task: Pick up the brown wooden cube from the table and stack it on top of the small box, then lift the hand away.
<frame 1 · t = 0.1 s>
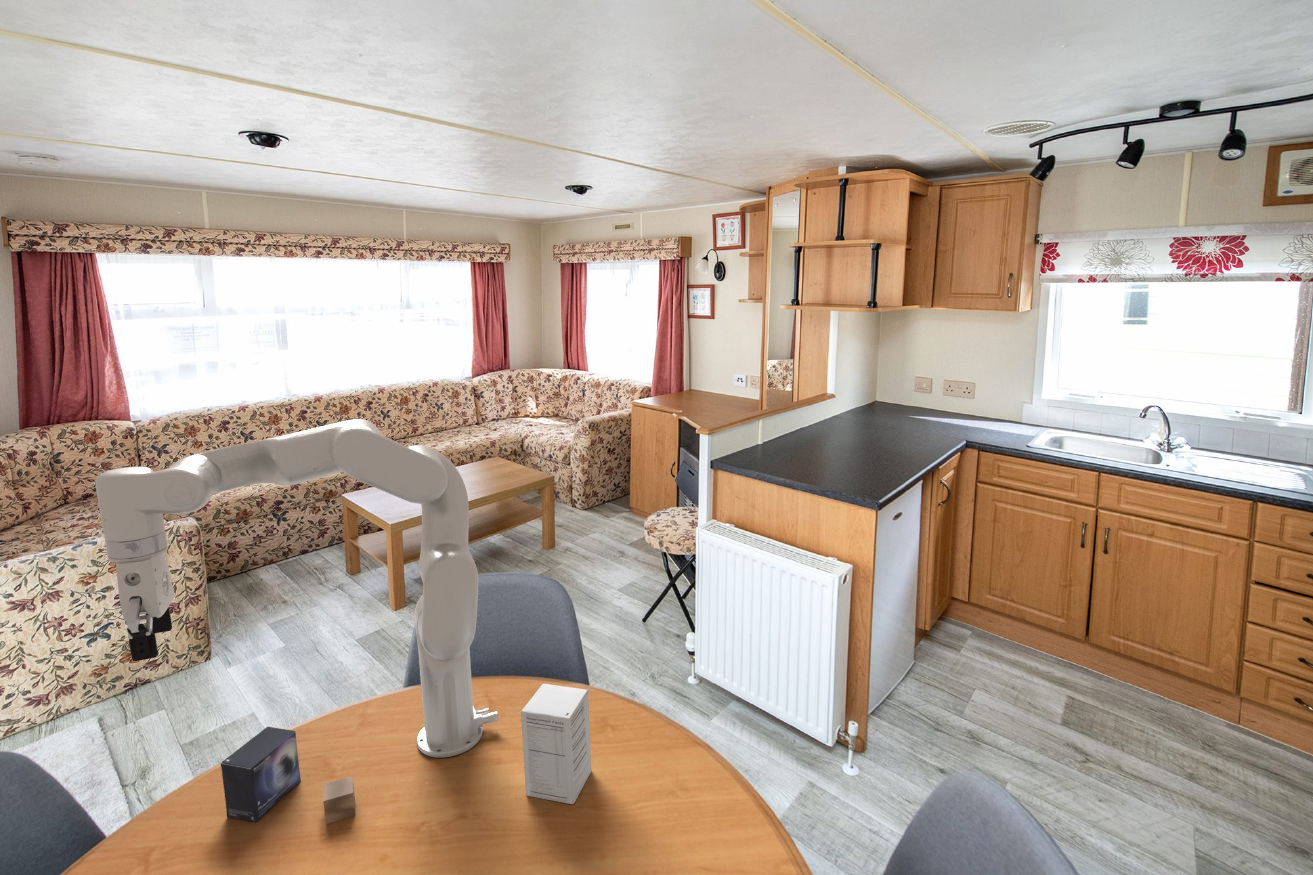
hand: (153, 644, 106), 31 cm above the table, tool pointing down, fingers open, 9 cm apart
supplement box: (559, 783, 118), on the table
small box: (266, 799, 115), on the table
brown wooden cube: (340, 811, 112), on the table
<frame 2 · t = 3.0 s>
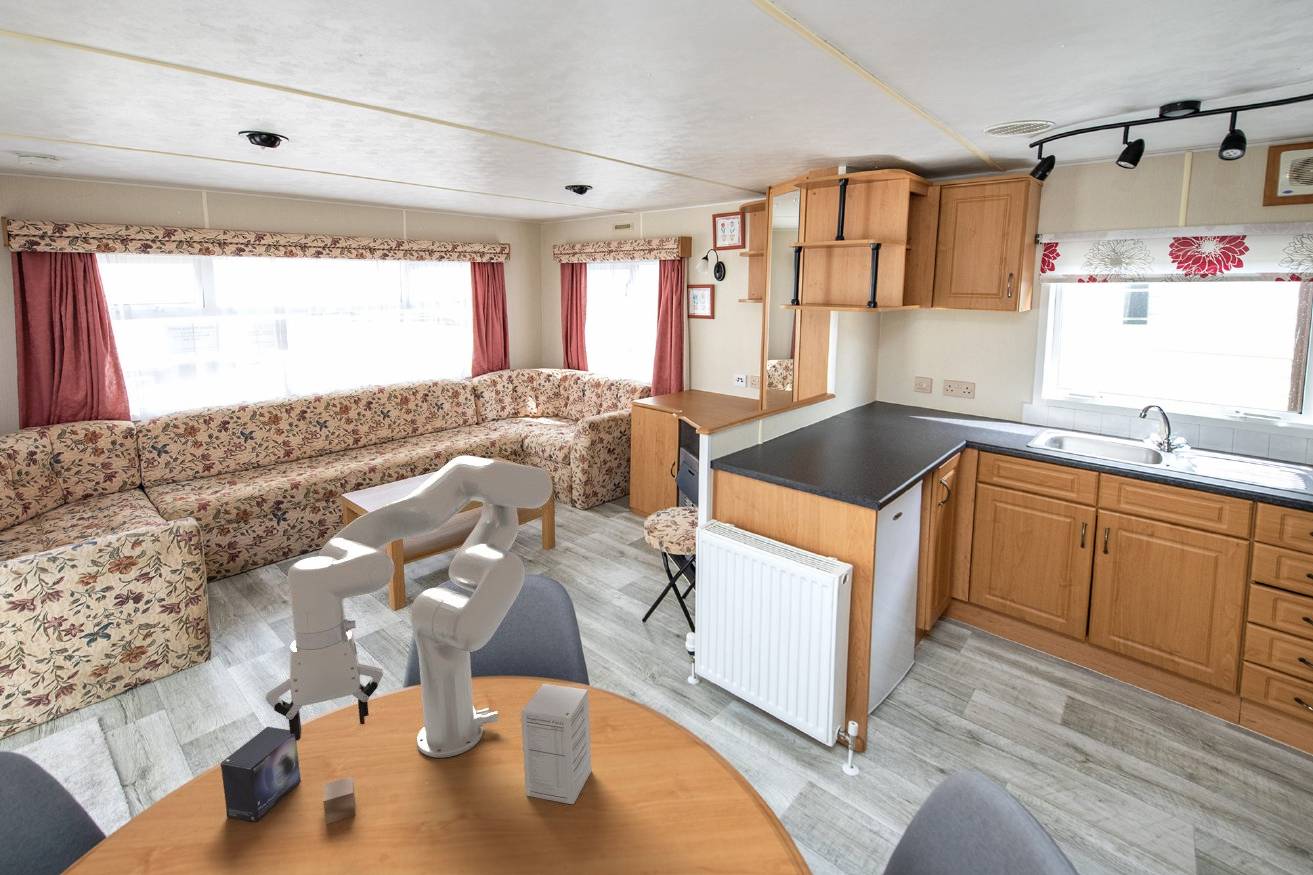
hand: (331, 727, 109), 16 cm above the table, tool pointing down, fingers open, 9 cm apart
nothing on the table moved.
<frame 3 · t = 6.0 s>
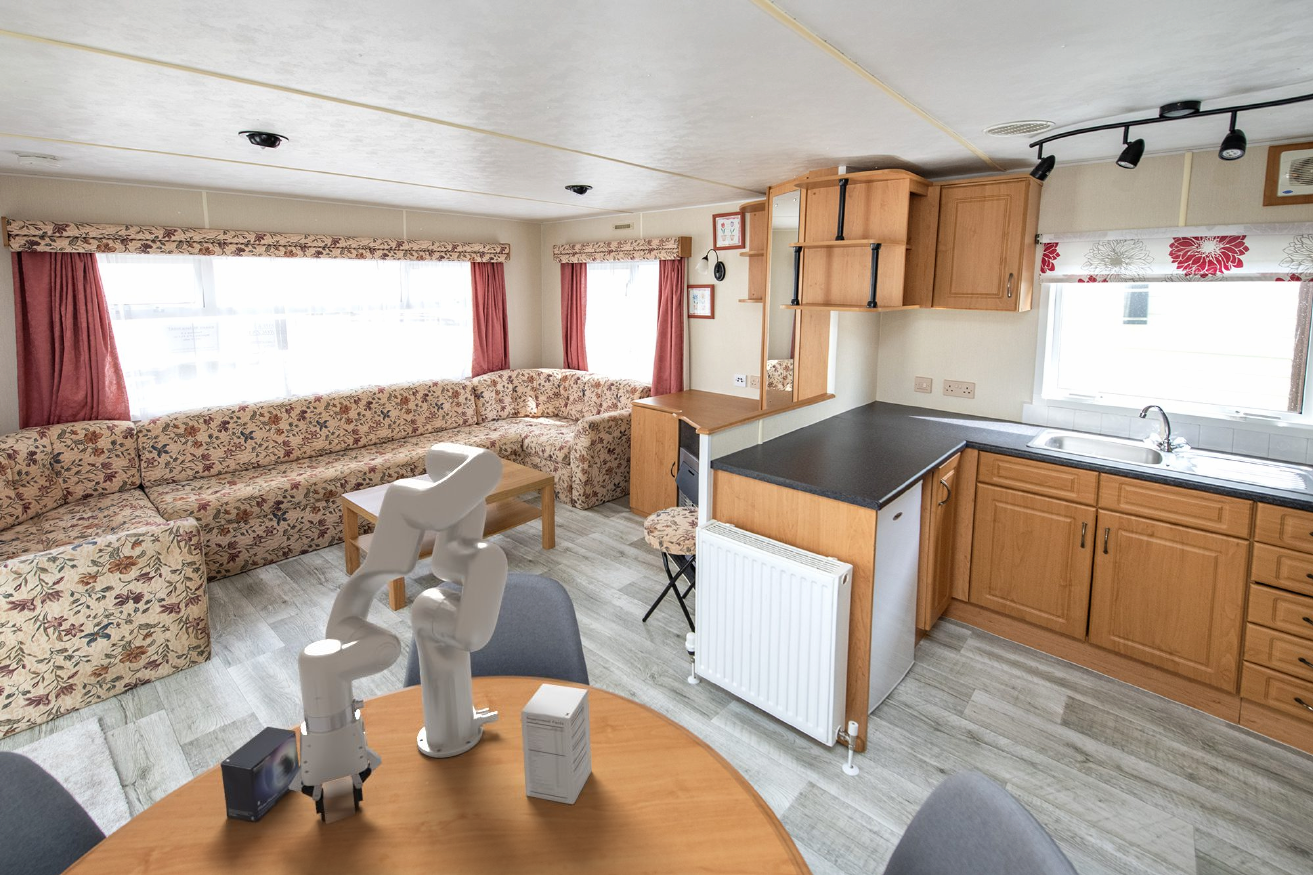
hand: (340, 808, 112), 0 cm above the table, tool pointing down, fingers closed on brown wooden cube, 4 cm apart
brown wooden cube: (340, 810, 112), on the table, touching gripper
everything else where it was.
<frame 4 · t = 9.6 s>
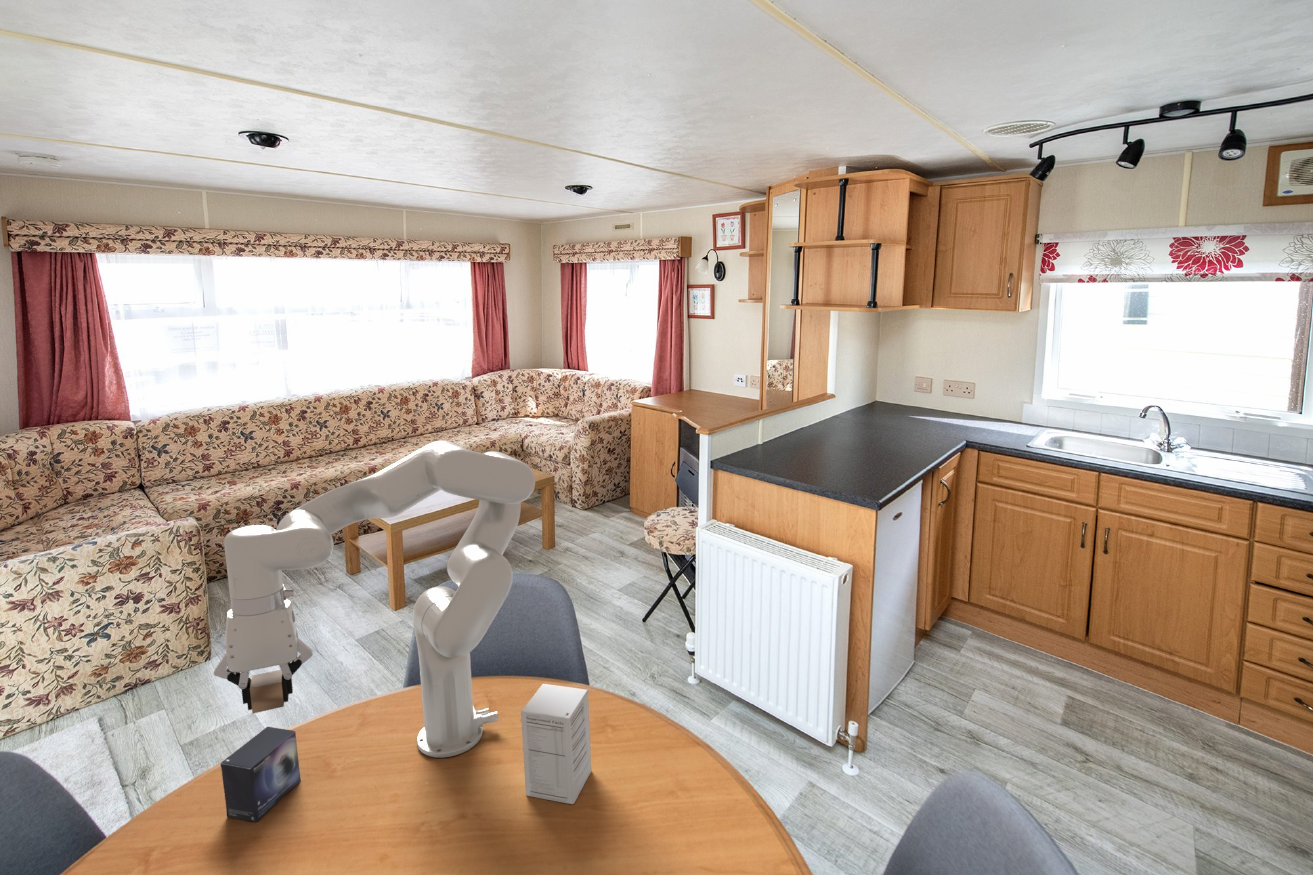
hand: (268, 700, 110), 20 cm above the table, tool pointing down, fingers closed on brown wooden cube, 4 cm apart
brown wooden cube: (269, 703, 110), point 19 cm above the table, touching gripper
everything else where it was.
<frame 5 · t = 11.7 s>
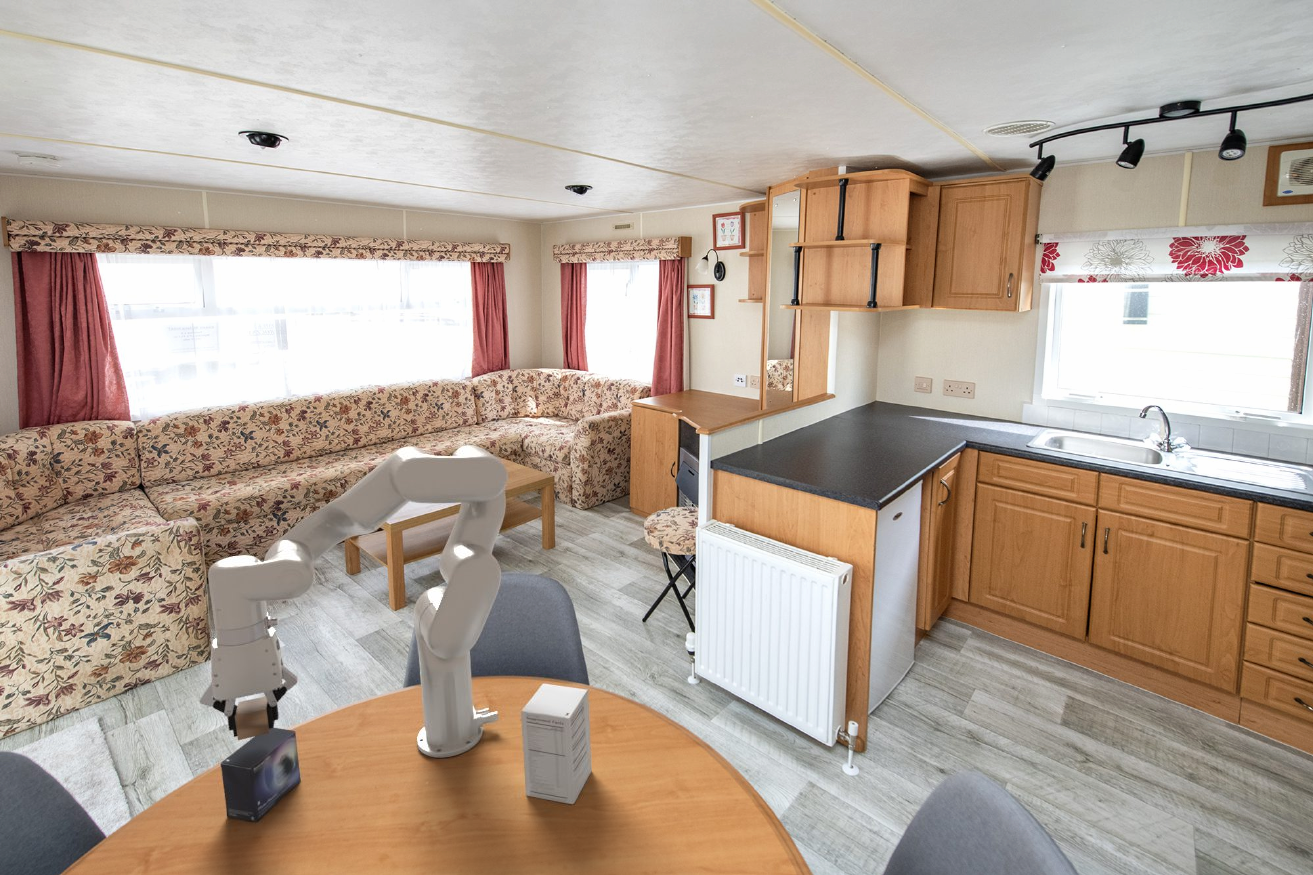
hand: (254, 726, 112), 14 cm above the table, tool pointing down, fingers closed on brown wooden cube, 4 cm apart
brown wooden cube: (255, 729, 112), point 14 cm above the table, touching gripper
everything else where it was.
when the fingers open (12 cm above the table, at t = 13.3 s): brown wooden cube drops 1 cm, resting on small box.
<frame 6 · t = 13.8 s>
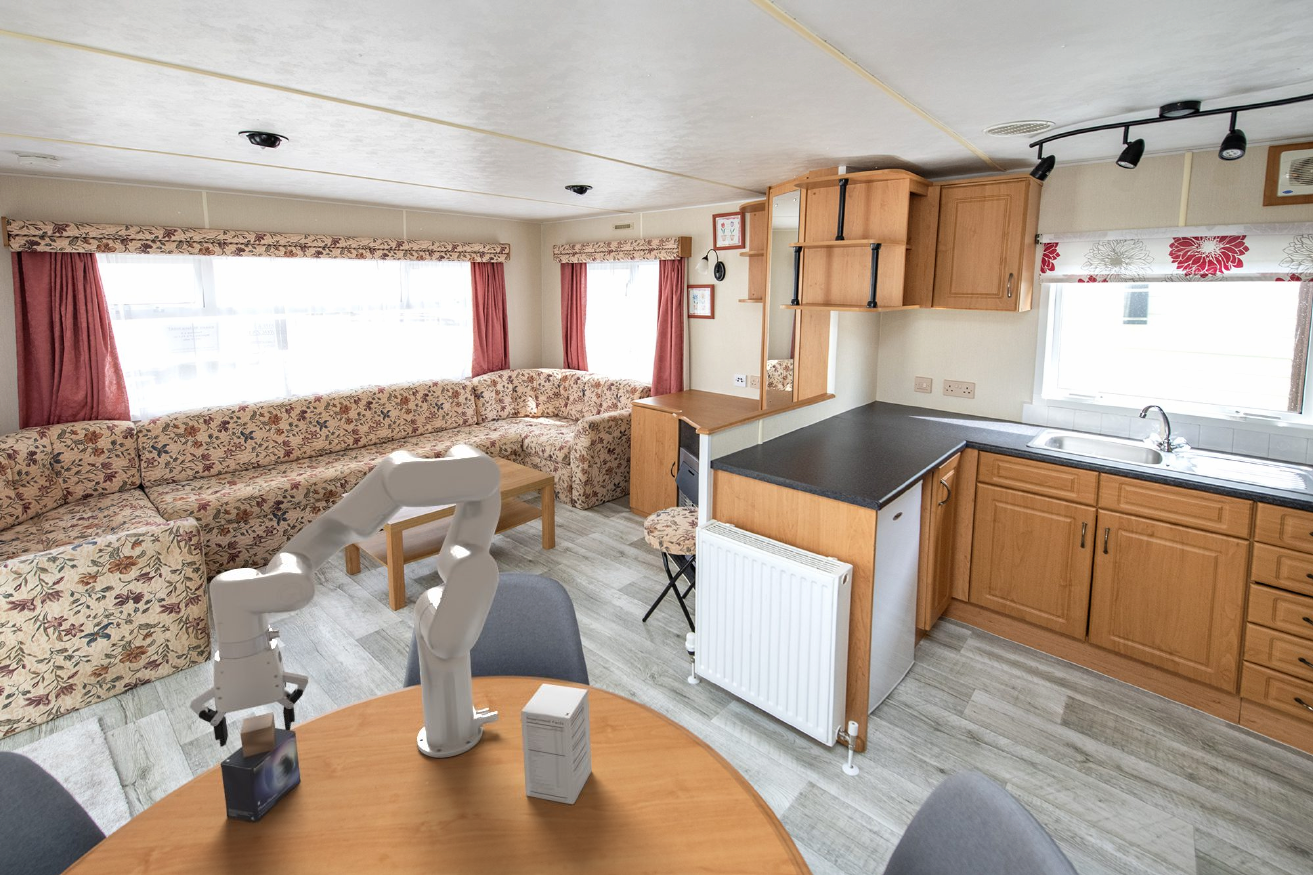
hand: (257, 733, 112), 13 cm above the table, tool pointing down, fingers open, 9 cm apart
small box: (266, 799, 115), on the table, touching brown wooden cube
brown wooden cube: (260, 745, 113), point 10 cm above the table, touching small box
everything else where it was.
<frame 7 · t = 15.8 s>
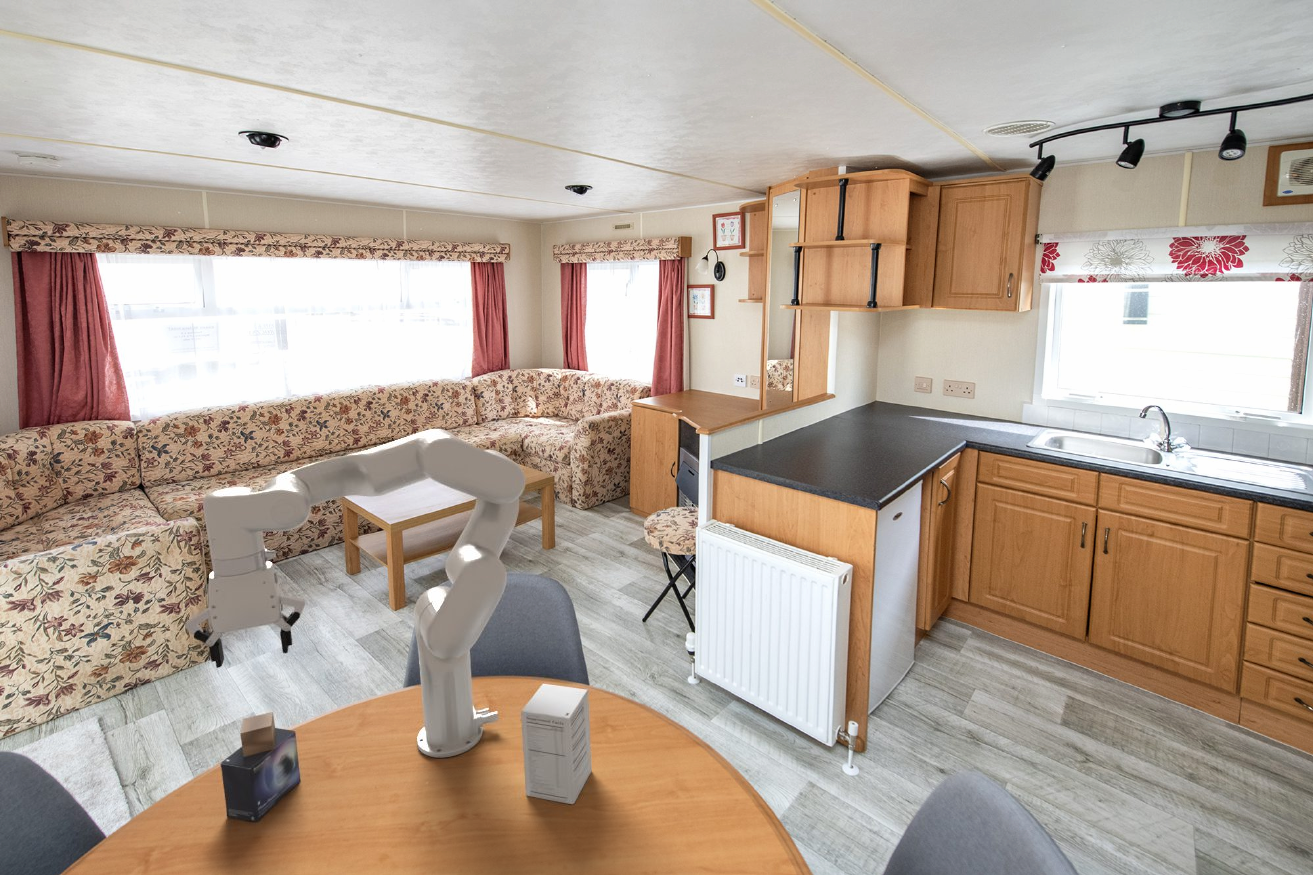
hand: (253, 656, 111), 27 cm above the table, tool pointing down, fingers open, 9 cm apart
nothing on the table moved.
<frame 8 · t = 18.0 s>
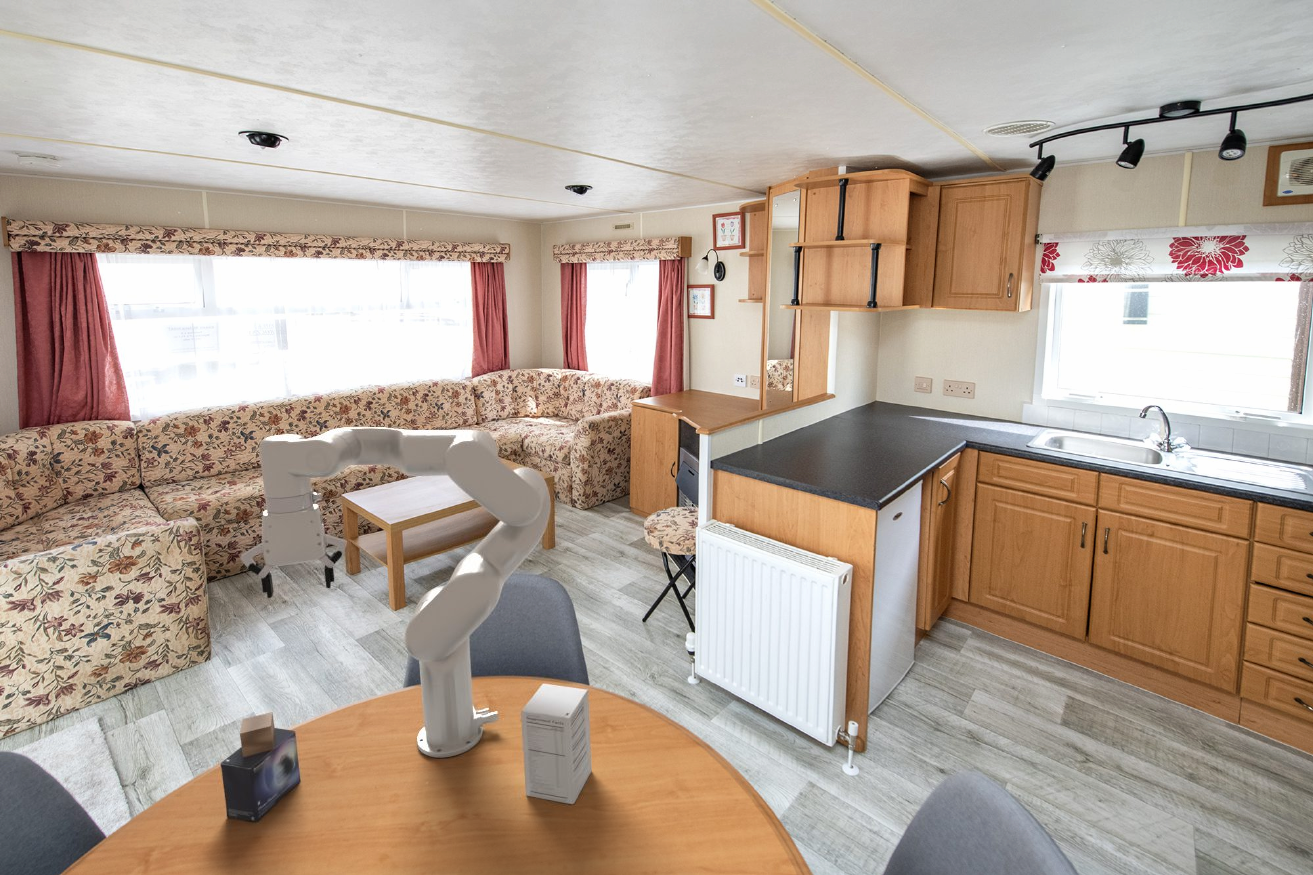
hand: (300, 590, 122), 33 cm above the table, tool pointing down, fingers open, 9 cm apart
nothing on the table moved.
at the end: brown wooden cube 0.1 cm off-centre on the small box, point 10.7 cm above the small box's base; small box tilted 0°; the gripper is holding nothing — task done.
